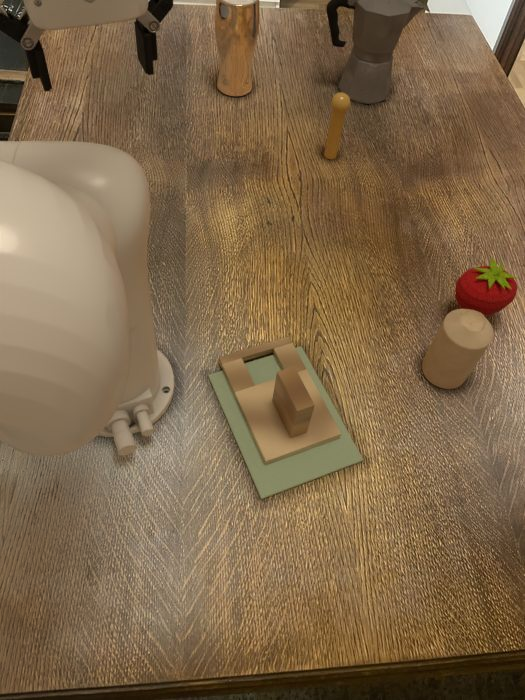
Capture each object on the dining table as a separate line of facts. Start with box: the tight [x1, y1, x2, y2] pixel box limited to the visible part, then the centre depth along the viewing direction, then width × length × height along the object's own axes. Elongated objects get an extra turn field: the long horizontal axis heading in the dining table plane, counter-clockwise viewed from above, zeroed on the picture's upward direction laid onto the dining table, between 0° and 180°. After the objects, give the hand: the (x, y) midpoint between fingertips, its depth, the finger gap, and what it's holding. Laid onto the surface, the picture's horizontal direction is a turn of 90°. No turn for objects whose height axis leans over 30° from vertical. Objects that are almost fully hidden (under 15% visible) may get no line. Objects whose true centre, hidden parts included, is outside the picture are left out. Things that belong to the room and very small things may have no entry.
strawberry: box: [454, 256, 518, 318], centre depth 74 cm, size 6×8×10 cm
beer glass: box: [214, 0, 261, 97], centre depth 98 cm, size 7×7×15 cm
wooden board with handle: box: [218, 335, 341, 465], centre depth 66 cm, size 14×9×7 cm, turn 23°
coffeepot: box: [325, 0, 425, 105], centre depth 99 cm, size 15×9×18 cm, turn 92°
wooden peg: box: [323, 91, 351, 160], centre depth 91 cm, size 3×3×11 cm
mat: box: [207, 345, 364, 501], centre depth 68 cm, size 16×12×1 cm
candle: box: [421, 308, 494, 390], centre depth 69 cm, size 6×6×10 cm
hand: (96, 75), depth 58 cm, fingers open, 9 cm apart
